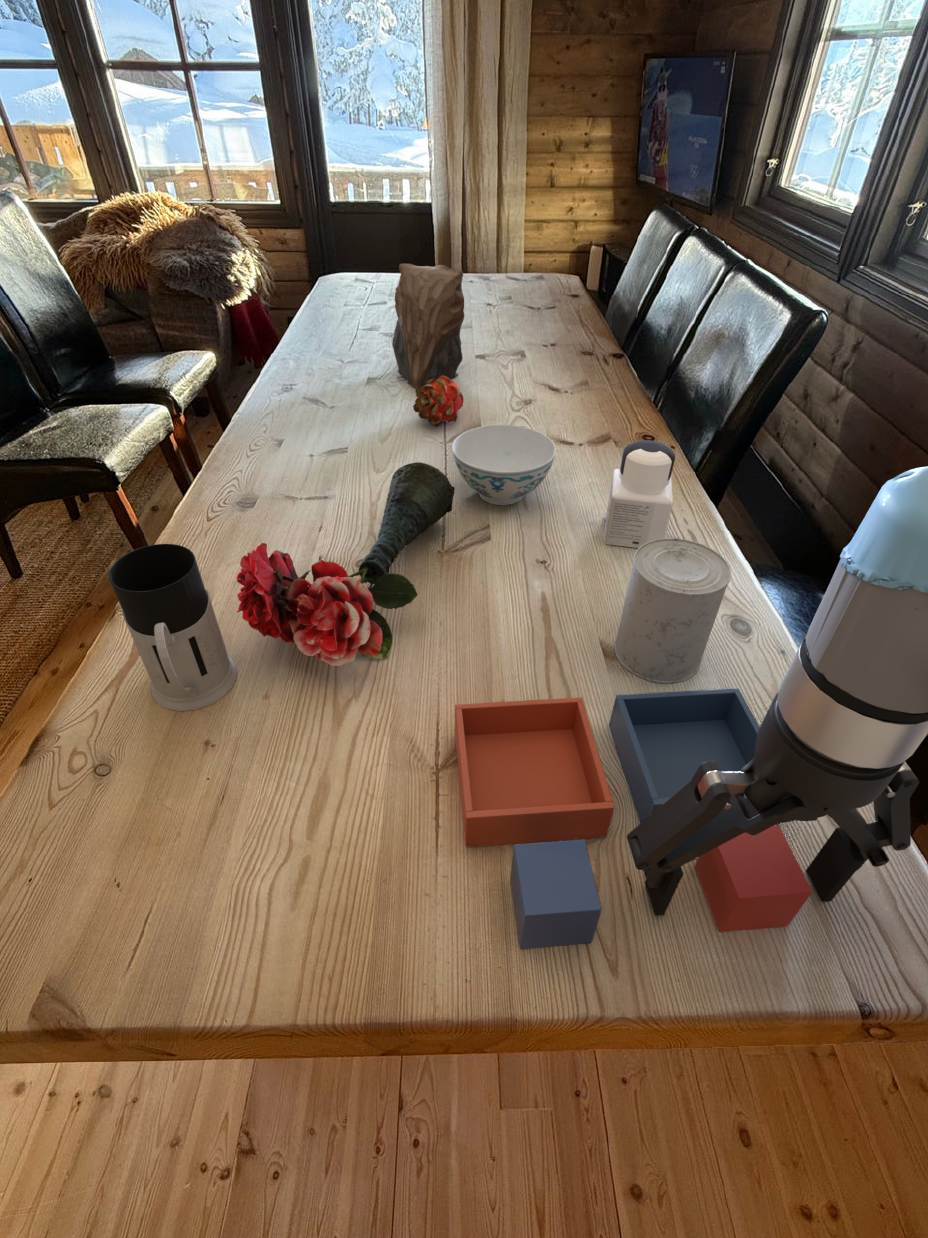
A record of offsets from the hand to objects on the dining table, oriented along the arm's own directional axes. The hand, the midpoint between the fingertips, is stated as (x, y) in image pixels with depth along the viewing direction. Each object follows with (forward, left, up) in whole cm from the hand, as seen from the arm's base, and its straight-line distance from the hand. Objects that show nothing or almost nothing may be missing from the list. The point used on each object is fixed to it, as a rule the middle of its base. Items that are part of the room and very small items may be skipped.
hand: (736, 892), depth 53 cm
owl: (+112, +21, 0) cm, 114 cm away
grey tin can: (+28, -2, 0) cm, 28 cm away
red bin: (+12, +15, 0) cm, 19 cm away
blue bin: (+12, 0, 0) cm, 12 cm away
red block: (0, 0, 0) cm, 0 cm away
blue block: (0, +15, 0) cm, 15 cm away
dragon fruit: (+91, +19, 0) cm, 93 cm away
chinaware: (+64, +11, 0) cm, 65 cm away
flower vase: (+42, +31, 0) cm, 52 cm away
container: (+52, -6, 0) cm, 52 cm away
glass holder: (+25, +48, 0) cm, 54 cm away
